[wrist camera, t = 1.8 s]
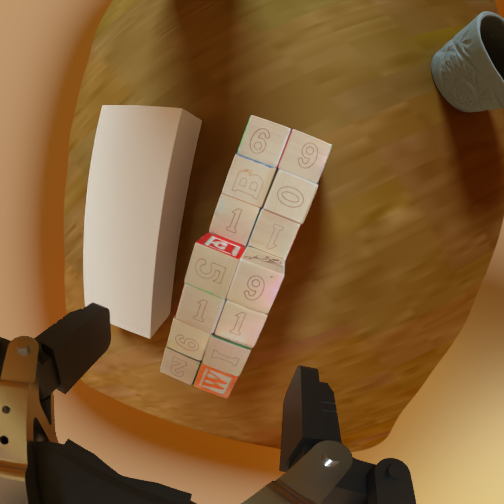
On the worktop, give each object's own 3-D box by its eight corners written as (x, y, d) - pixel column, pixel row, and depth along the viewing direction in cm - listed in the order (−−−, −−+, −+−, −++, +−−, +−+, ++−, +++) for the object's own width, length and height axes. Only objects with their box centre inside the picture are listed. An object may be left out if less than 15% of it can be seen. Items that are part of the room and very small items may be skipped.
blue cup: (475, 58, 19) (526, 32, 7) (490, 126, 21) (553, 118, 10) (416, 40, 20) (462, -4, 9) (433, 114, 23) (497, 92, 11)
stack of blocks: (262, 132, 26) (245, 100, 14) (319, 155, 26) (345, 139, 14) (197, 309, 32) (157, 373, 21) (245, 329, 32) (226, 402, 20)
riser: (131, 114, 27) (102, 105, 21) (202, 120, 26) (182, 108, 21) (111, 293, 33) (85, 312, 28) (170, 314, 33) (150, 338, 27)
